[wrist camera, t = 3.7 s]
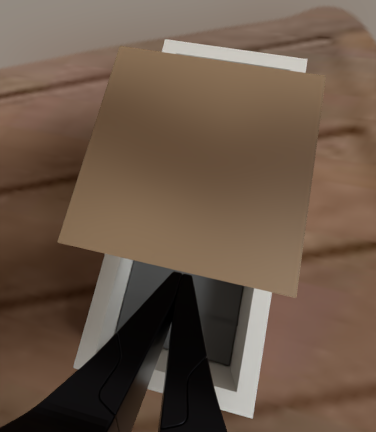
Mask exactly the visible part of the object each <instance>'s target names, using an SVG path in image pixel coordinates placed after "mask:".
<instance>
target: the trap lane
mask: <svg viewBox="0 0 376 432" xmlns="http://www.w3.org/2000/svg"><path fill="white" fill-rule="evenodd" d="M162 52H165V53H172V54H179V55H186V56H193V57H200V58H207V59H213V60H220V61H227V62H234V63H241V64H248V65H255V66H261V67H268V68H275V69H282V70H289V71H296V72H303V73H305V72H306V65H307V59H302V58H295V57H288V56H280V55H273V54H266V53H259V52H252V51H245V50H238V49H231V48H223V47H216V46H209V45H202V44H195V43H188V42H181V41H174V40H166V39H165V42H164V46H163V49H162ZM133 263H134V264H133ZM132 267H133V268H132ZM131 270H132V271H131ZM173 271H176V272H180V273H182V275H183V274H188V275H192V277H193V282H194V287H195V292H196V298H197V303H198V308H199V314H200V319H201V324H202V329H203V335H204V340H205V345H206V351H207V358H208V361H209V360H211V361H209V366H210V371H211V375H212V380H213V384H214V388H215V392H216V396H217V399H218V403H219V406H220V410H224V411H227V412H231V413H234V414H238V415H242V416H245V417H249V418H252V419H253V413H254V406H255V400H256V393H257V387H258V380H259V373H260V367H261V360H262V354H263V347H264V341H265V334H266V327H267V321H268V314H269V308H270V301H271V295H272V292H268V291H264V290H260V289H255V288H251V287H247V286H242V285H238V284H234V283H229V282H225V281H221V280H216V279H212V278H208V277H204V276H199V275H195V274H191V273H186V272H182V271H178V270H173V269H169V268H165V267H161V266H156V265H152V264H148V263H143V262H139V261H135V260H130V259H126V258H122V257H118V256H113V255H109V254H105V256H104V260H103V263H102V267H101V270H100V274H99V277H98V281H97V284H96V288H95V292H94V295H93V299H92V302H91V306H90V309H89V313H88V317H87V320H86V324H85V327H84V331H83V334H82V338H81V341H80V345H79V349H78V352H77V356H76V359H75V363H74V366H73V368H76V369H80V368H81V367H82V366H83V365H84V364H85V363H86V362H87V361H88V360H90V359H91V358H92V357H93V356H94V355H95V354H96V353H97V352H98V351H99V350H100V349H101V348H102V347H103V346H104V345H105V344H106V343H107V342H108V341H109V340H110V339H111V338H112V336H113V335H114V334H115V333H117V331H118V330H119V329H120V328H121V327H122V326H123V325H124V324H125V323H126V321H127V320H128V319H129V318H130V317H131V316H132V315H133V314H134V313H135V312H136V311H137V310H138V308H139V307H140V306H141V305H142V304H143V303H144V302H145V301H146V300H147V299H148V298H149V297H150V296H151V294H152V293H153V292H154V291H155V290H156V289H157V288H158V287H159V286H160V285H161V284H162V283H163V281H164V280H165V279H166V278H167V277H168V276H169V275H170V274H171V273H172V272H173ZM130 274H131V275H130ZM129 278H130V279H129ZM128 282H129V283H128ZM127 286H128V287H127ZM242 288H243V292H242ZM126 290H127V291H126ZM241 294H242V298H241ZM124 298H125V299H124ZM240 300H241V303H240ZM122 305H123V306H122ZM239 306H240V309H239ZM121 309H122V310H121ZM238 311H239V315H238ZM120 313H121V314H120ZM119 317H120V318H119ZM237 317H238V320H237ZM118 321H119V322H118ZM117 325H118V326H117ZM171 325H172V323H171ZM116 329H117V330H116ZM235 329H236V332H235ZM170 332H171V326H170V329H169V332H168V335H167V337H166V340H165V343H164V345H163V348H162V351H161V353H160V356H159V359H158V361H157V364H156V367H155V369H154V372H153V375H152V377H151V380H150V383H149V385H148V388H147V389H150V390H153V391H157V392H160V393H163V387H164V379H165V371H166V363H167V356H168V348H169V340H170ZM234 334H235V338H234ZM233 340H234V344H233ZM232 346H233V349H232ZM164 348H166V349H164ZM231 351H232V355H231ZM230 357H231V361H230ZM213 361H215V362H213ZM217 362H219V363H217ZM220 363H223V364H220ZM229 363H230V366H228V365H229ZM224 364H226V365H224Z"/></svg>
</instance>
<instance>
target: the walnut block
mask: <svg viewBox="0 0 376 432" xmlns="http://www.w3.org/2000/svg"><path fill="white" fill-rule="evenodd" d="M325 80H326V76H323V75H316V74H310V73H303V72H296V71H289V70H282V69H275V68H268V67H261V66H255V65H248V64H241V63H234V62H227V61H220V60H213V59H207V58H200V57H193V56H186V55H179V54H172V53H165V52H159V51H152V50H145V49H138V48H131V47H124V46H120V47H119V50H118V53H117V57H116V60H115V63H114V66H113V69H112V72H111V75H110V78H109V82H108V85H107V88H106V91H105V94H104V97H103V100H102V104H101V107H100V110H99V113H98V116H97V119H96V122H95V125H94V129H93V132H92V135H91V138H90V141H89V144H88V147H87V151H86V154H85V157H84V160H83V163H82V166H81V169H80V172H79V176H78V179H77V182H76V185H75V188H74V191H73V194H72V198H71V201H70V204H69V207H68V210H67V213H66V216H65V219H64V223H63V226H62V229H61V232H60V235H59V238H58V241H57V243H62V244H66V245H70V246H74V247H79V248H83V249H87V250H92V251H96V252H100V253H105V254H109V255H113V256H118V257H122V258H126V259H130V260H135V261H139V262H143V263H148V264H152V265H156V266H161V267H165V268H169V269H173V270H178V271H182V272H186V273H191V274H195V275H199V276H204V277H208V278H212V279H216V280H221V281H225V282H229V283H234V284H238V285H242V286H247V287H251V288H255V289H260V290H264V291H268V292H272V293H277V294H281V295H285V296H290V297H294V298H296V295H297V288H298V281H299V273H300V266H301V258H302V251H303V243H304V236H305V228H306V221H307V214H308V206H309V199H310V191H311V184H312V176H313V169H314V161H315V154H316V147H317V139H318V132H319V124H320V117H321V109H322V102H323V94H324V87H325Z"/></svg>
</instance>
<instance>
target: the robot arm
mask: <svg viewBox="0 0 376 432" xmlns="http://www.w3.org/2000/svg"><path fill="white" fill-rule="evenodd" d="M171 323H172V325H171ZM170 326H171V332H170V340H169V348H168V356H167V363H166V371H165V379H164V387H163V395H162V403H161V411H160V419H159V427H158V432H227V429H226V426H225V423H224V420H223V416H222V413H221V410H220V406H219V403H218V399H217V396H216V392H215V388H214V384H213V380H212V375H211V371H210V366H209V361H208V358H207V351H206V345H205V340H204V335H203V329H202V324H201V319H200V314H199V308H198V303H197V298H196V292H195V287H194V282H193V277H192V275H188V274H183V275H182V273H180V272H176V271H173V272H172V273H171V274H170V275H169V276H168V277H167V278H166V279H165V280H164V281H163V283H162V284H161V285H160V286H159V287H158V288H157V289H156V290H155V291H154V292H153V293H152V294H151V296H150V297H149V298H148V299H147V300H146V301H145V302H144V303H143V304H142V305H141V306H140V307H139V308H138V310H137V311H136V312H135V313H134V314H133V315H132V316H131V317H130V318H129V319H128V320H127V321H126V323H125V324H124V325H123V326H122V327H121V328H120V329H119V330H118V331H117V333H115V334H114V335H113V336H112V338H111V339H110V340H109V341H108V342H107V343H106V344H105V345H104V346H103V347H102V348H101V349H100V350H99V351H98V352H97V353H96V354H95V355H94V356H93V357H92V358H91V359H90V360H88V361H87V362H86V363H85V364H84V365H83V366H82V367H81V368H80V369H78V370H77V371H76V372H75V373H74V374H73V375H72V376H71V377H69V378H68V379H67V380H66V381H65V382H64V383H63V384H61V385H60V386H59V387H58V388H57V389H56V390H55V391H54V392H52V393H51V394H50V395H49V396H48V397H47V398H45V399H44V400H43V401H42V402H41V403H39V404H38V405H37V406H35V407H34V408H33V409H31V410H30V411H28V412H27V413H25V414H24V415H22V416H20V417H19V418H17V419H15V420H13V421H11V422H10V423H8V424H6V425H4V426H3V427H1V428H0V432H131V430H132V428H133V425H134V422H135V420H136V417H137V415H138V412H139V409H140V407H141V404H142V401H143V399H144V396H145V393H146V391H147V388H148V385H149V383H150V380H151V377H152V375H153V372H154V369H155V367H156V364H157V361H158V359H159V356H160V353H161V351H162V348H163V345H164V343H165V340H166V337H167V335H168V332H169V329H170Z"/></svg>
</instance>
